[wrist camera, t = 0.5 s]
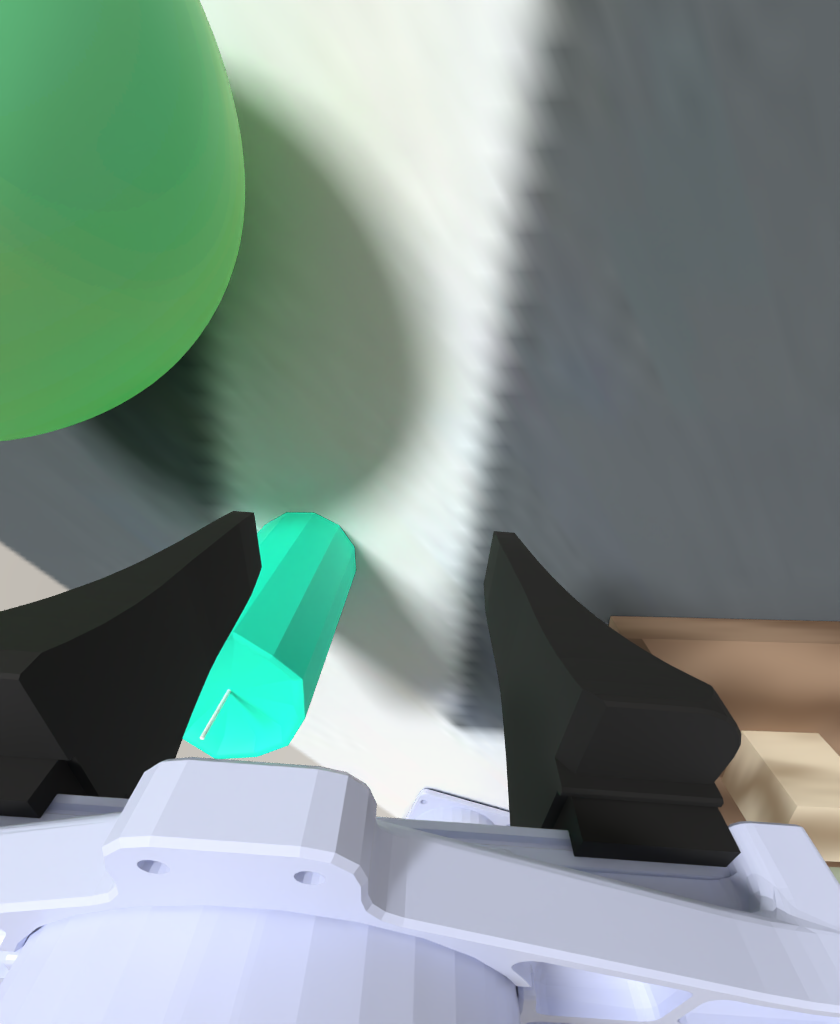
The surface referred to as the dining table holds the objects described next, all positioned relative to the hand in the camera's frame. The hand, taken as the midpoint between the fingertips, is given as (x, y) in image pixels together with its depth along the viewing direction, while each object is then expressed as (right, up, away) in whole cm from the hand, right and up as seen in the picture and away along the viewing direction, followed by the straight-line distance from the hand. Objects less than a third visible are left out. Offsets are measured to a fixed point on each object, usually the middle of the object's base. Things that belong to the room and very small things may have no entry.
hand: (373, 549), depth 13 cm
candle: (-5, -1, +12) cm, 13 cm away
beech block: (+23, -14, +14) cm, 31 cm away
